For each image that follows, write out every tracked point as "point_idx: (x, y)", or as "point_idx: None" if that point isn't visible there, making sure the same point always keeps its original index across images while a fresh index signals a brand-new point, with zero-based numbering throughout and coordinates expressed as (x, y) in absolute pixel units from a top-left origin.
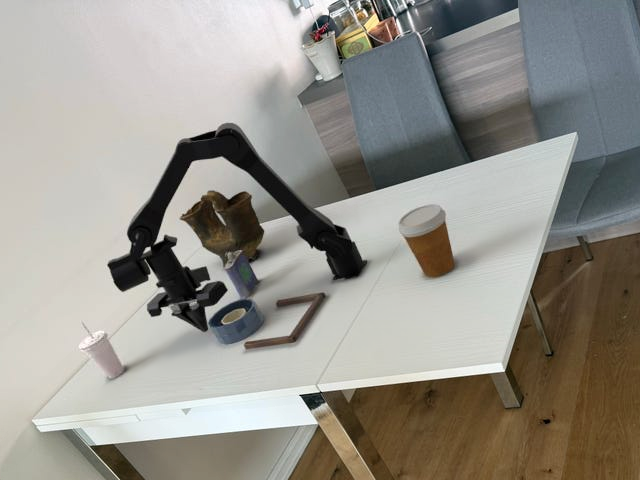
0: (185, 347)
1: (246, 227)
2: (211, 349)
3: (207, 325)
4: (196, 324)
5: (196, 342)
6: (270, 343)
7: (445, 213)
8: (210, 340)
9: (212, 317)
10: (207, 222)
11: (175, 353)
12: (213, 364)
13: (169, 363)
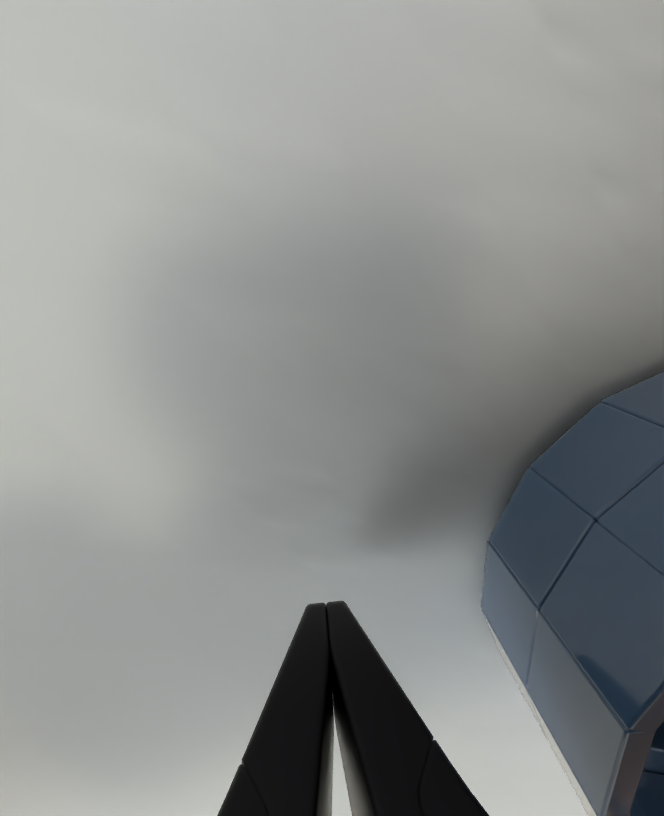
0: (162, 686)
1: None
2: (470, 706)
3: (361, 628)
4: (330, 800)
5: (238, 638)
6: None
7: None
8: (386, 623)
9: (631, 800)
10: None
11: (116, 739)
12: (572, 802)
13: (170, 812)
